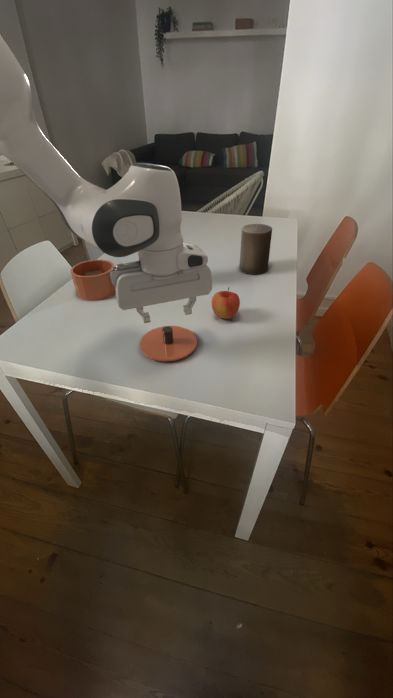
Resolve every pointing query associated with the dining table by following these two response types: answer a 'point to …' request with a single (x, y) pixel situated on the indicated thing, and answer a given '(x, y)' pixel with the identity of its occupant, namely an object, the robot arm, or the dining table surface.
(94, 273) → the block
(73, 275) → the bowl
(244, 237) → the pillar candle
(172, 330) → the bowl lid
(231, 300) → the apple
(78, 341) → the dining table surface
